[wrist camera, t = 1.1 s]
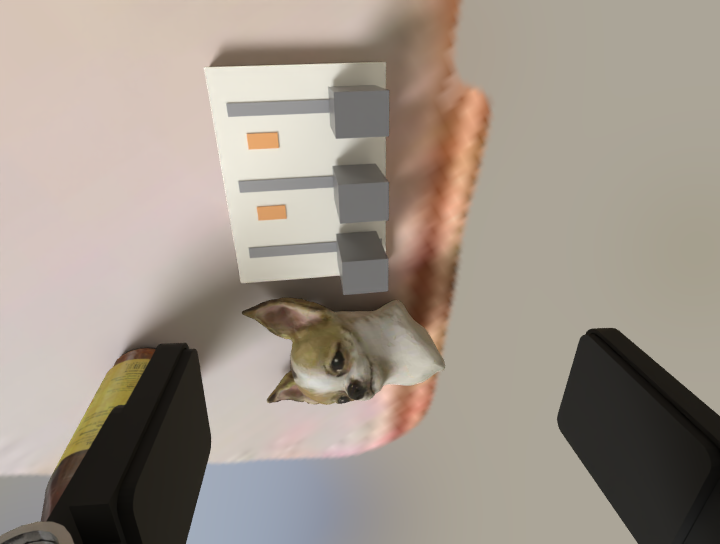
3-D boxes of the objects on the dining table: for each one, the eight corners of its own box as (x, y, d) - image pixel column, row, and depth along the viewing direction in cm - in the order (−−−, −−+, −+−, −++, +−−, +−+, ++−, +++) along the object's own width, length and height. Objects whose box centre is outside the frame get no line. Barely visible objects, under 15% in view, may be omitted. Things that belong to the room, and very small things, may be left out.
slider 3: (336, 233, 32) (341, 262, 27) (376, 231, 32) (388, 258, 28) (337, 262, 33) (343, 295, 28) (376, 260, 33) (388, 291, 29)
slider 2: (332, 165, 29) (338, 184, 25) (375, 163, 30) (388, 182, 25) (334, 199, 30) (339, 223, 26) (375, 197, 31) (388, 220, 26)
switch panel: (208, 66, 28) (203, 67, 26) (381, 61, 29) (386, 62, 27) (243, 274, 34) (240, 283, 33) (382, 263, 35) (385, 272, 34)
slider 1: (328, 86, 27) (333, 92, 23) (374, 84, 27) (389, 90, 23) (330, 126, 28) (335, 138, 24) (375, 124, 29) (389, 136, 24)
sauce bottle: (96, 365, 36) (-96, 656, 19) (156, 331, 36) (15, 600, 18) (150, 412, 39) (28, 702, 22) (206, 382, 39) (127, 656, 21)
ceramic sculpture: (453, 435, 33) (259, 461, 33) (429, 363, 41) (272, 385, 41) (449, 319, 28) (223, 350, 28) (423, 263, 36) (246, 287, 36)
